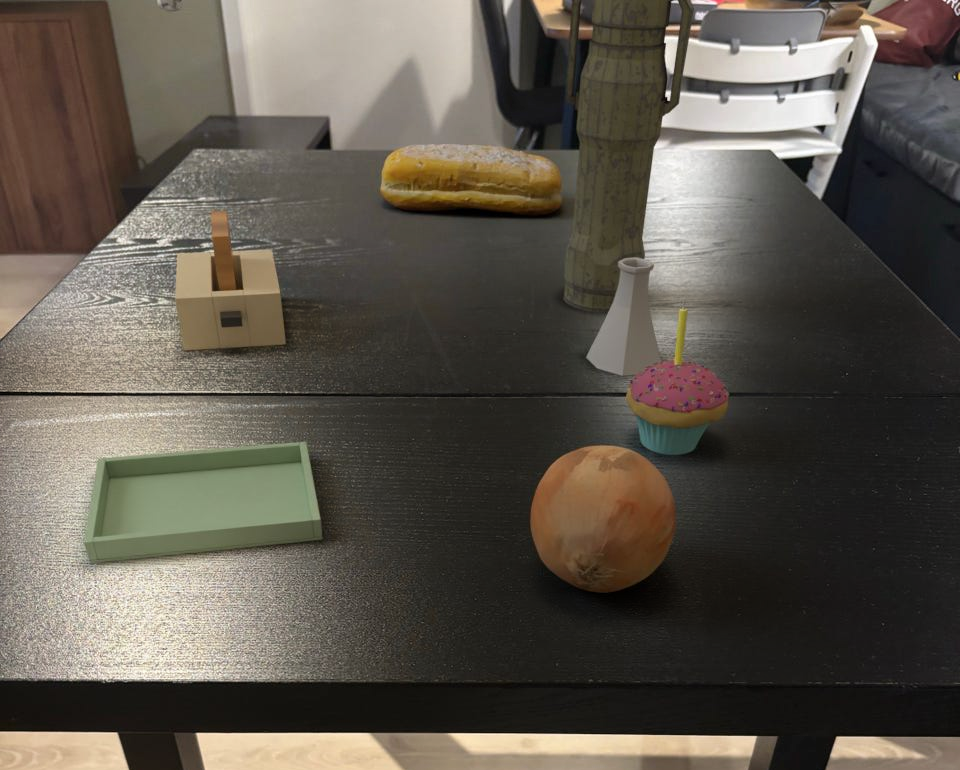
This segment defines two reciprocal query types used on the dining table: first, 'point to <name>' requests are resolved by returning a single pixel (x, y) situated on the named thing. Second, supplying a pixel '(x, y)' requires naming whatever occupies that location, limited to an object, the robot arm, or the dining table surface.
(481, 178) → the bread
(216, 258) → the toast
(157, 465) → the tray
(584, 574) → the onion
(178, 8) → the robot arm
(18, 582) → the dining table surface
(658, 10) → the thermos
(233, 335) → the toaster
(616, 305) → the flask
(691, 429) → the cupcake
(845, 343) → the dining table surface
